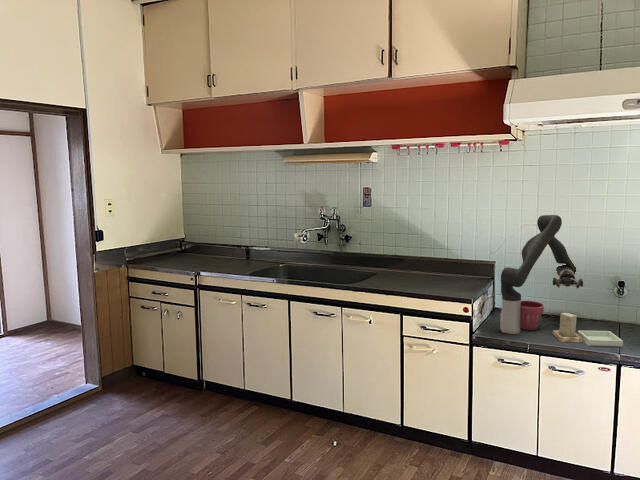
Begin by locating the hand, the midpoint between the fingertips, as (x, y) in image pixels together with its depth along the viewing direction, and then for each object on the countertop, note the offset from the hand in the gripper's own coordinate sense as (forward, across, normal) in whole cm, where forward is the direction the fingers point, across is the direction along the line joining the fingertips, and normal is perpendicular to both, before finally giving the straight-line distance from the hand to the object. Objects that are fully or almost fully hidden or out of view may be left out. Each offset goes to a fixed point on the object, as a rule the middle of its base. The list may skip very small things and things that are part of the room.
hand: (568, 286), depth 263 cm
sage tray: (+12, +14, +23) cm, 30 cm away
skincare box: (+12, 0, +23) cm, 26 cm away
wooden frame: (+12, 0, +23) cm, 26 cm away
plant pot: (0, -18, +24) cm, 30 cm away
